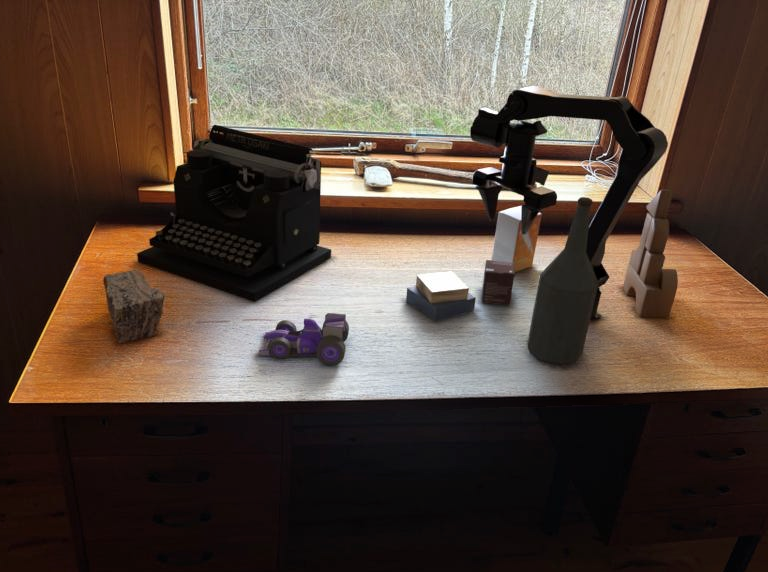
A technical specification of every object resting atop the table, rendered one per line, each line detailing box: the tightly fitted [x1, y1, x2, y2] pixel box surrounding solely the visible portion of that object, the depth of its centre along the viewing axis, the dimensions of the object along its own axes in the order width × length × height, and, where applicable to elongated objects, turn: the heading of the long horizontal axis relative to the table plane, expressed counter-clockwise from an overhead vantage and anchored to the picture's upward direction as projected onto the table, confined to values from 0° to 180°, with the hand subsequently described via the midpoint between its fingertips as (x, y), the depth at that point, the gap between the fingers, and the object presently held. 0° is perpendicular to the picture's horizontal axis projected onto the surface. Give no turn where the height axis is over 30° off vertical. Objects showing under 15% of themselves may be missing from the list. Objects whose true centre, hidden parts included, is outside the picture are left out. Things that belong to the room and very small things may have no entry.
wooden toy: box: [622, 189, 679, 319], centre depth 155 cm, size 16×7×25 cm, turn 2°
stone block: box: [102, 269, 166, 344], centre depth 134 cm, size 14×9×8 cm, turn 29°
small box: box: [491, 204, 543, 273], centre depth 168 cm, size 8×6×13 cm
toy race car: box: [258, 312, 350, 366], centre depth 131 cm, size 10×15×6 cm, turn 90°
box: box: [481, 259, 516, 306], centre depth 154 cm, size 6×6×7 cm
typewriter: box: [136, 124, 332, 303], centre depth 156 cm, size 31×27×25 cm
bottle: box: [526, 196, 599, 367], centre depth 131 cm, size 10×10×30 cm
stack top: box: [415, 271, 470, 303], centre depth 149 cm, size 8×8×2 cm
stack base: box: [405, 285, 477, 322], centre depth 151 cm, size 10×10×3 cm
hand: (507, 226), depth 156 cm, fingers open, 9 cm apart
